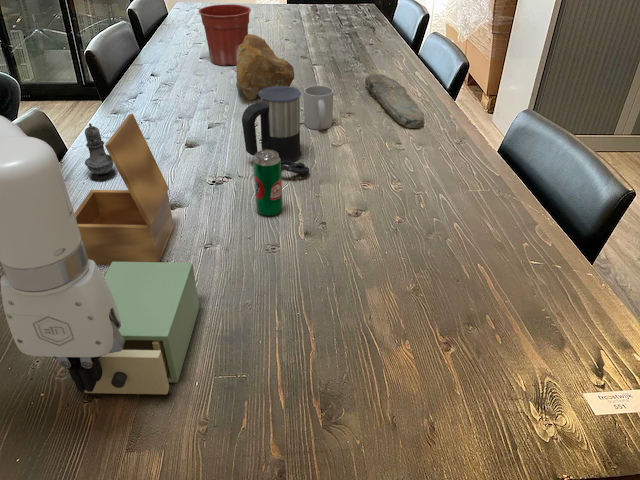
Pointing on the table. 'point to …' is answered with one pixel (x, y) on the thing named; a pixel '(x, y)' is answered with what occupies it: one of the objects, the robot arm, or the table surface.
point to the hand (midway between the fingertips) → (90, 381)
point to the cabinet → (156, 305)
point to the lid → (137, 168)
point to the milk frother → (276, 126)
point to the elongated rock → (395, 100)
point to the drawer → (134, 369)
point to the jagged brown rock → (260, 67)
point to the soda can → (268, 182)
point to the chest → (122, 228)
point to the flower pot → (225, 31)
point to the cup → (318, 107)
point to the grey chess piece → (98, 156)
